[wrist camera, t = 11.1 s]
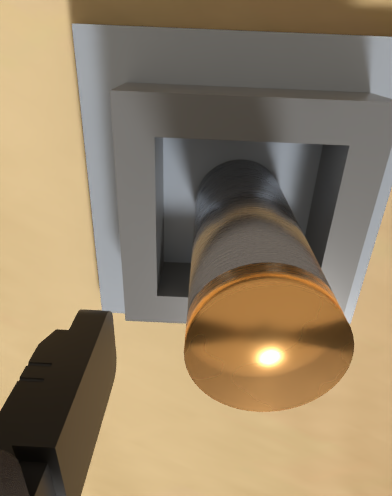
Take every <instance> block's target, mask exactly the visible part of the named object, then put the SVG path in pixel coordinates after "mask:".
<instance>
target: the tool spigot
mask: <svg viewBox="0 0 392 496" xmlns="http://www.w3.org/2000/svg"><path fill="white" fill-rule="evenodd" d="M353 352H354V339H353V334H352V330H351V327H350V325H349V323H348V321H347V319H346V317H345V315H344V313H343V311H342V309H341V307H340V305H339V303H338V301H337V299H336V297H335V295H334V293H333V291H332V289H331V287H330V285H329V283H328V281H327V279H326V277H325V275H324V273H323V271H322V269H321V267H320V265H319V263H318V261H317V259H316V257H315V256H314V254H313V252H312V250H311V248H310V246H309V244H308V242H307V240H306V238H305V236H304V234H303V232H302V230H301V228H300V226H299V224H298V222H297V220H296V218H295V216H294V214H293V212H292V210H291V208H290V206H289V204H288V202H287V200H286V198H285V196H284V194H283V192H282V190H281V188H280V186H279V184H278V182H277V180H276V178H275V177H274V175H273V174H272V173H271V172H270V171H269V170H268V169H267V168H266V167H264V166H263V165H261V164H259V163H256V162H254V161H250V160H243V159H238V160H230V161H227V162H224V163H221V164H219V165H218V166H216V167H214V168H213V169H212V170H210V171H209V172H208V173H207V174H206V175H205V177H204V178H203V179H202V181H201V183H200V185H199V188H198V191H197V195H196V206H195V219H194V232H193V245H192V257H191V270H190V283H189V296H188V309H187V321H186V334H185V347H184V358H185V364H186V368H187V370H188V372H189V375H190V376H191V378H192V380H193V381H194V382H195V384H196V385H197V386H198V387H199V388H200V389H201V390H202V391H203V392H204V393H205V394H207V395H208V396H210V397H211V398H213V399H214V400H216V401H218V402H220V403H222V404H225V405H228V406H230V407H234V408H237V409H242V410H247V411H257V412H270V411H280V410H286V409H291V408H294V407H298V406H301V405H304V404H306V403H309V402H311V401H313V400H315V399H317V398H318V397H320V396H322V395H323V394H325V393H326V392H328V391H329V390H330V389H332V388H333V387H334V386H335V385H336V384H337V383H338V382H339V381H340V379H341V378H342V377H343V376H344V374H345V373H346V371H347V369H348V368H349V365H350V363H351V360H352V356H353Z"/></svg>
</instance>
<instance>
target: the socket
mask: <svg viewBox="0 0 392 496" xmlns="http://www.w3.org/2000/svg"><path fill="white" fill-rule="evenodd" d="M72 31H73V40H74V50H75V59H76V68H77V78H78V87H79V97H80V106H81V116H82V125H83V135H84V144H85V154H86V163H87V172H88V182H89V191H90V201H91V210H92V220H93V229H94V239H95V248H96V257H97V267H98V276H99V286H100V295H101V305H102V311H111V312H112V313H125V320H126V321H144V322H166V323H186V321H187V309H188V296H189V283H190V270H191V257H192V245H193V232H194V219H195V206H196V195H197V191H198V188H199V185H200V183H201V181H202V179H203V178H204V177H205V175H206V174H207V173H208V172H209V171H210V170H212V169H213V168H214V167H216V166H218V165H219V164H221V163H224V162H227V161H230V160H238V159H243V160H250V161H254V162H256V163H259V164H261V165H263V166H264V167H266V168H267V169H268V170H269V171H270V172H271V173H272V174H273V175H274V177H275V178H276V180H277V182H278V184H279V186H280V188H281V190H282V192H283V194H284V196H285V198H286V200H287V202H288V204H289V206H290V208H291V210H292V212H293V214H294V216H295V218H296V220H297V222H298V224H299V226H300V228H301V230H302V232H303V234H304V236H305V238H306V240H307V242H308V244H309V246H310V248H311V250H312V252H313V254H314V256H315V257H316V259H317V261H318V263H319V265H320V267H321V269H322V271H323V273H324V275H325V277H326V279H327V281H328V283H329V285H330V287H331V289H332V291H333V293H334V295H335V297H336V299H337V301H338V303H339V305H340V307H341V309H342V311H343V313H344V315H345V317H346V319H347V321H348V323H351V320H352V317H353V313H354V310H355V307H356V303H357V300H358V297H359V294H360V290H361V287H362V284H363V280H364V277H365V274H366V270H367V267H368V264H369V260H370V257H371V254H372V250H373V247H374V244H375V240H376V237H377V234H378V230H379V227H380V224H381V221H382V217H383V214H384V211H385V207H386V204H387V201H388V197H389V194H390V191H391V187H392V37H385V36H361V35H337V34H313V33H288V32H264V31H240V30H216V29H192V28H168V27H143V26H119V25H95V24H72Z"/></svg>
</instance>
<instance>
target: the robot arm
mask: <svg viewBox="0 0 392 496" xmlns="http://www.w3.org/2000/svg"><path fill="white" fill-rule="evenodd" d="M115 372H116V347H115V336H114V325H113V316H112V312H111V311H101V310H79V312H78V313H77V315H76V317H75V319H74V321H73V323H72V325H71V327H70V329H69V330H55V331H54V332H53V333H51V334H50V335H49V336H48V337H47V338H46V339H44V340H43V341H42V342H41V343H40V344H39V345H38V347H37V348H36V350H35V352H34V353H33V355H32V357H31V359H30V360H29V364H28V366H26V367H25V369H24V371H23V373H22V374H21V376H20V380H19V381H17V383H16V385H15V386H14V388H13V390H12V392H11V393H10V395H9V397H8V399H7V400H6V402H5V404H4V406H3V407H2V409H1V411H0V496H81V493H82V489H83V486H84V482H85V479H86V476H87V472H88V469H89V465H90V462H91V458H92V455H93V451H94V448H95V444H96V441H97V438H98V434H99V431H100V427H101V424H102V420H103V417H104V413H105V410H106V406H107V403H108V400H109V396H110V393H111V389H112V386H113V382H114V378H115Z"/></svg>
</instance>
